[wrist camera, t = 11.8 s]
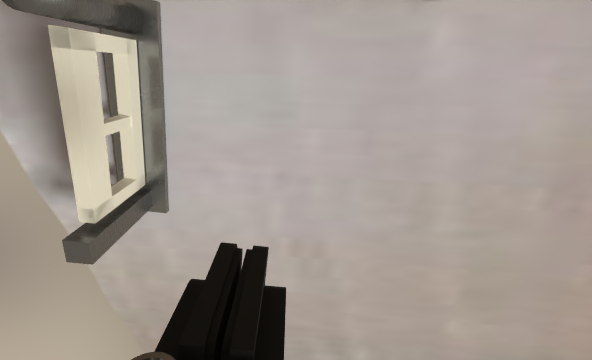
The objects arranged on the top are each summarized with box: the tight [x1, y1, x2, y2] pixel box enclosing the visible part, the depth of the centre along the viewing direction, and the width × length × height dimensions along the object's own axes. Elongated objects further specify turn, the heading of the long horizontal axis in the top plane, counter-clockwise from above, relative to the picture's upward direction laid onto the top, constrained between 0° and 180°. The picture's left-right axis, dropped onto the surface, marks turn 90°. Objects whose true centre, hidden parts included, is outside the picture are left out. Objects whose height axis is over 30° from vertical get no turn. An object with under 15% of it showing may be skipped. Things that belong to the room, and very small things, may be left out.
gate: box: [48, 25, 145, 224], centre depth 29 cm, size 17×2×10 cm, turn 172°
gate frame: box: [2, 0, 169, 264], centre depth 28 cm, size 25×6×14 cm, turn 173°
